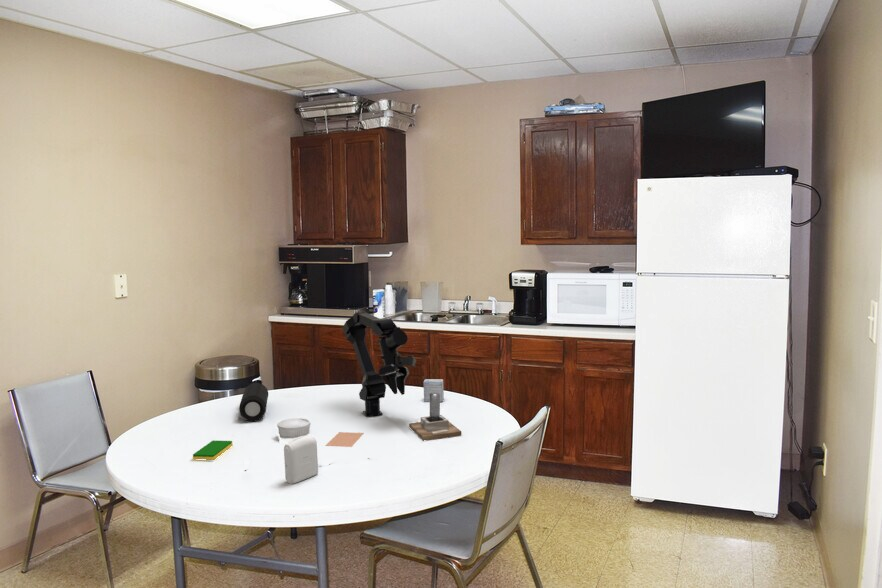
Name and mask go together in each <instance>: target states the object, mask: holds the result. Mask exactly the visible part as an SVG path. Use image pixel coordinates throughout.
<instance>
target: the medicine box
mask: <svg viewBox="0 0 882 588" xmlns="http://www.w3.org/2000/svg"><path fill="white" fill-rule="evenodd" d="M430 393H440V403H443V402H444V400H445V396H444V379H442V378H440V379H436V378H435V379H434V378H431V379H430V378H429V379H424V381H423V402H425V403H430Z"/></svg>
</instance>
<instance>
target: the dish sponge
mask: <svg viewBox="0 0 882 588" xmlns="http://www.w3.org/2000/svg"><path fill="white" fill-rule="evenodd" d="M231 446H233V441H232V440H215V439H214V440H211V441H210V442H209V443H207V444H206V445H204V446H203V447H200V449H199V450H198V451H196V452H194V453H193V454H192V460H193V459H206V460H215V459H216V458H217V457H218V456H220V455H221V454H222V453H224V452H225V451H226V450H228V449H229V448H230V447H231ZM230 449H231V448H230ZM230 449H229V450H230ZM229 450H228V451H229ZM226 452H227V451H226ZM226 452H225V453H226ZM225 453H224V454H225ZM222 455H223V454H222ZM222 455H221V456H222ZM221 456H220V457H221ZM217 459H218V458H217ZM217 459H216V460H217ZM216 460H215V461H216Z"/></svg>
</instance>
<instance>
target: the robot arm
mask: <svg viewBox="0 0 882 588" xmlns="http://www.w3.org/2000/svg"><path fill="white" fill-rule="evenodd" d="M368 328H370V329H371V332H372V333H373V334H374V335H375V336H377V337H378V339H377V342H376V344H377V345H379V347H380V351H381V355H382V356H380V358H381V360H383V363H384V365H383V366H380V367H379V368H378V370H377V371H378V373H377V372H376V370H375V366H374V364H373V360H372V358H371V356H370V355H371V354H370V353H369V350H368V346H367V344H366V341H365V338H366V335H367V332H366V330H367V329H368ZM342 332H343V335H344V336H345V339H346V340H347V341H348V342H349V343H351V344H352V347H353V349H354V352H355V356H356V358H357V361H358V364H359V367H360V370H361V373H362V376H363V378H362V382H361V386H362V387H361V389H360V391H359V392H358V395H359V399H360V400H362V401H364V409H365V410H363V411H362V413H363V415H364V416H365V417H374V416H376V417H377V416H383V412H382V411H381V399H383V398H385V395H386V390H387V386H388V388H389V389H390V391H392V393H393V395H397V394H398V392H399V393H400V394H401V396H403V395H405V392H406V391H405V389H406V388H405V387H406V379H407V378H408V377H409V374H410V370H409V368H408V367H413V368H415V367H416V363H417V360H416V357H414V355H410V354H409V355H407V356H402V355H401V353H399V352H398V349H399V348H401V347H402V346H404V345H405V344H407V342H408V335H407V333H406V332H405V331H404V330H402V329H401V327H400V326H397V325H396V323H395V322H394V321H393V319H392V318H379V317H377V316H375V315H372V314H370V313H368V312H367V311H366V312H365V311H357V312H355V313H353V315H352V316H351V317H350V318H348V319H347V320H346V321H345V322H344V325H343V326H342Z"/></svg>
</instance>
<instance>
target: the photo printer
mask: <svg viewBox="0 0 882 588" xmlns="http://www.w3.org/2000/svg"><path fill="white" fill-rule="evenodd" d="M317 443H318V442H317V439H316V438H315V436H313V435H309V434H306V435H304V436H300V437H294V438H293V439H291V440H290V441H288V442H287V443H285V444H284V447H283V456H284V457H283V459H284V471H285V472H284V474H285V481H286V483H288V484H290V485H293V484H296V483H299V482H302V481H304V480H307V479H309V478H311V477H314V476H316V475H318V474H319V462H318V461H319V460H318V459H319V458H318V445H317Z"/></svg>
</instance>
